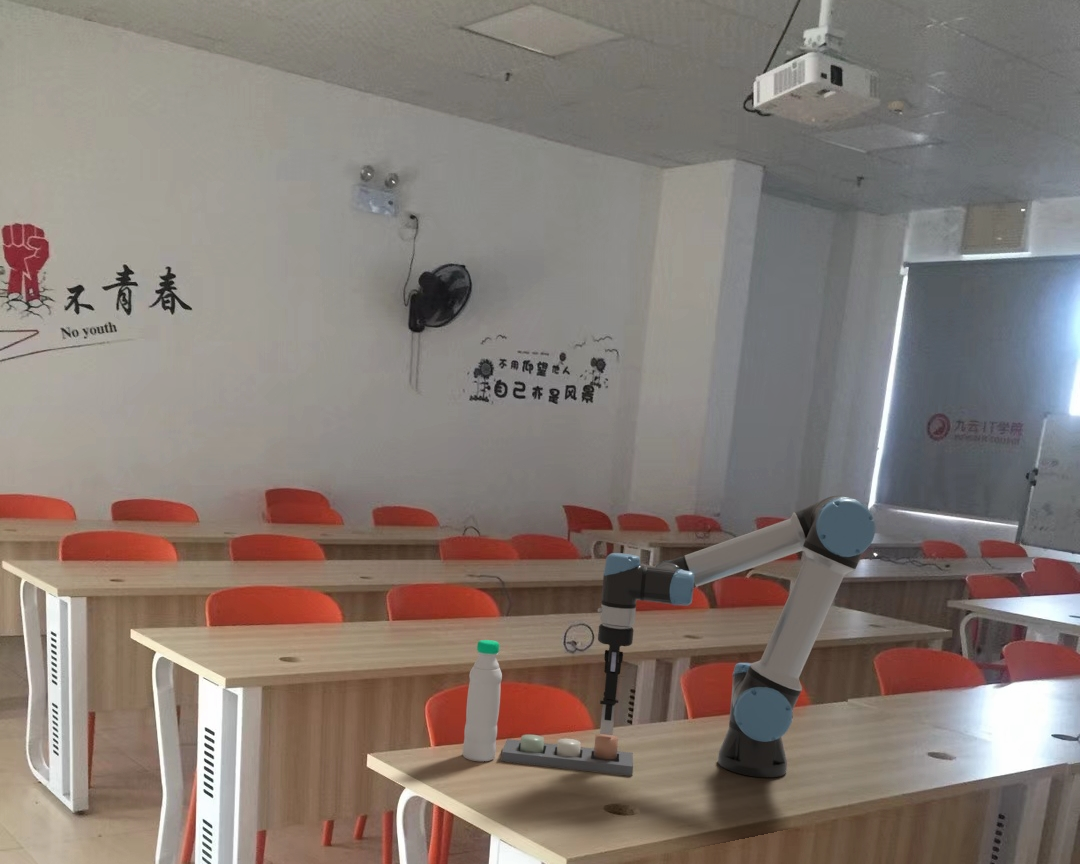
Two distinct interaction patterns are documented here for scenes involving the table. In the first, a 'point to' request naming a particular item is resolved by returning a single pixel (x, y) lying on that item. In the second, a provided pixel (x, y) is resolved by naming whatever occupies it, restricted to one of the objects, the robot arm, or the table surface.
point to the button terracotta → (606, 746)
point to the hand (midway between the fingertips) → (606, 733)
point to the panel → (568, 759)
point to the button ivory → (568, 748)
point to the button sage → (532, 743)
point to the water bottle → (483, 704)
